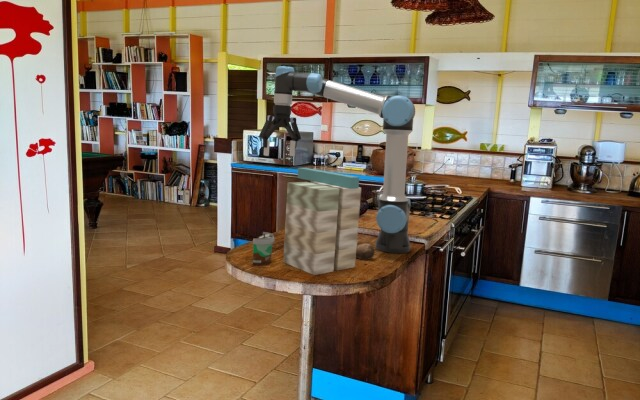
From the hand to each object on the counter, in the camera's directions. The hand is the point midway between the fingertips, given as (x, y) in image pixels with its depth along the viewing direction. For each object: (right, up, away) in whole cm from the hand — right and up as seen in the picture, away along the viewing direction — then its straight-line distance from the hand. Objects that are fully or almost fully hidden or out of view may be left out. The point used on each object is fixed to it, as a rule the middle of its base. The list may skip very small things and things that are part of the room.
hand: (279, 155), depth 213 cm
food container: (-3, -42, -26) cm, 49 cm away
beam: (+20, -12, -22) cm, 32 cm away
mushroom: (+35, -42, -11) cm, 56 cm away
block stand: (+17, -43, -25) cm, 52 cm away
